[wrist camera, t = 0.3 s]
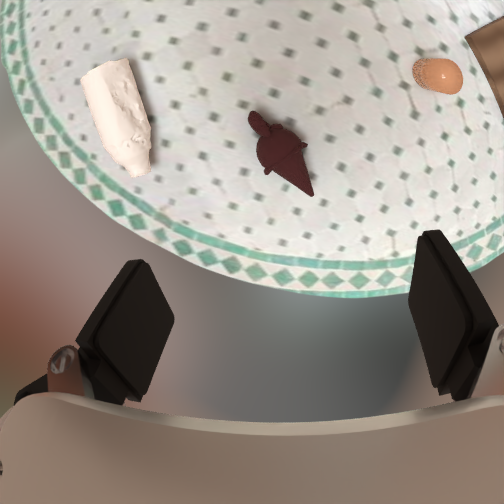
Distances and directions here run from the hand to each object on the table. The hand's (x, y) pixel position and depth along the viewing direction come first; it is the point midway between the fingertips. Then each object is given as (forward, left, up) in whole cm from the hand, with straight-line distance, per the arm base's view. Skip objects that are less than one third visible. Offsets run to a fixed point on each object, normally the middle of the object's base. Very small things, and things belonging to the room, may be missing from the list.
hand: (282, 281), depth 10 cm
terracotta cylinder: (+6, +22, -36) cm, 43 cm away
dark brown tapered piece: (+3, -4, -36) cm, 37 cm away
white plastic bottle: (-18, -17, -36) cm, 44 cm away
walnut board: (+12, +41, -36) cm, 56 cm away
